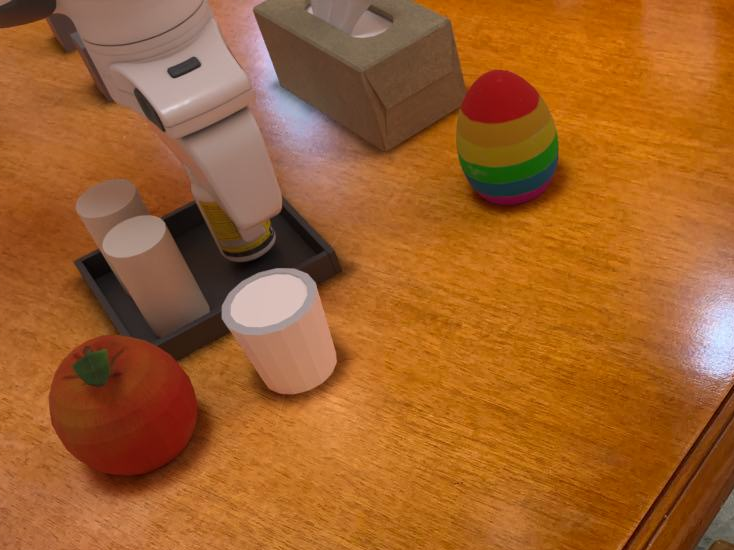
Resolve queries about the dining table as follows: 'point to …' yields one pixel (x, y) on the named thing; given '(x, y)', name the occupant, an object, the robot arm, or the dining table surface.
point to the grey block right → (90, 65)
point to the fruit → (122, 405)
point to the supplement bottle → (229, 228)
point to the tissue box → (366, 63)
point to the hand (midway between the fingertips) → (236, 218)
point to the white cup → (282, 329)
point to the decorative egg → (506, 139)
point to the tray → (209, 274)
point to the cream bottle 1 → (109, 210)
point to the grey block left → (62, 30)
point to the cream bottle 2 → (155, 273)
